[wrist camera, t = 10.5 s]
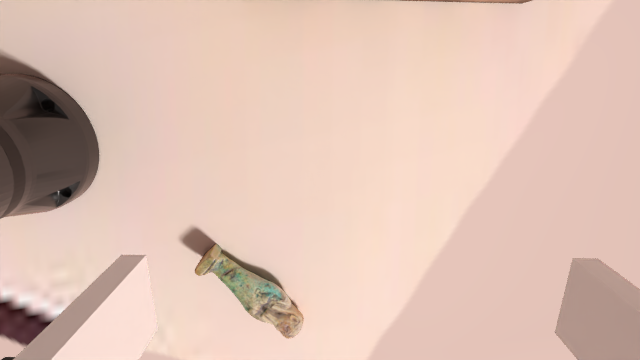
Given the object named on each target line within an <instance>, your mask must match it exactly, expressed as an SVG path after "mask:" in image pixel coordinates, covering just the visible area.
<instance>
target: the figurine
mask: <svg viewBox="0 0 640 360" xmlns="http://www.w3.org/2000/svg"><path fill="white" fill-rule="evenodd" d="M221 250H222V249H221V247H220V246H219V245H217V244H215V245H214V246H213V247H212V248H211V249H210V250H208V251H207V252H206V253H205V254H204V256H203V257H202V259H201V260H200V262H199V263H198V265H197V267H196V269H195V273H196V274H197V275H199V276H201V275H205V274H208V273H210V272H213V273H215V274H216V275H217V276H218V278H219V279H220V280H221V281H222V282H223V283H224V284H225V285H226V286H227V287H228V288H229V289H230V290H231V291H232V292H233V293H234V295H235V296H236V297H237V298H238V300H239V301H240V302H241V304H242V305H243V307H244V308H245V310H246V311H247V312H248V313H249V314H250V315H251V316H253V317H254V318H256V319H257V320H260V321H262V322H267V323H270V324H273V325H274V326H275V328H276V329H277V330H278V331H280V332H281V333H282V335H283V336H285V337H286V338H293V337H294V336H296V335H297V334H298V333H299V331H300V330H301V328H302V325H303V319H304V318H303V315H302V314H301V312H300V311H299V310H298V309H297V308H296V307H295V306H294V305H292V304H291V301H290V299H289V297H288V296H287V294H286V293H285V292H284V291H283V290H282V289H281V288H280V287H279V286H278V285H276V284H275V283H273V282H270V281H268V280H265V279H263V278H261V277H259V276H258V275H256V274H254V273H252V272H250V271H248V270H246V269H244V268H243V267H241V266H240V265H238V264H237V263H235V262H234V261H232V260H231V259H229V258H228V257H227V256H225V255H224V254H223V253H222V252H221Z"/></svg>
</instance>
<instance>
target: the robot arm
mask: <svg viewBox="0 0 640 360" xmlns="http://www.w3.org/2000/svg"><path fill="white" fill-rule="evenodd" d="M98 164H99V148H98V142H97V138H96V135H95V132H94V129H93V127H92V125H91V123H90V121H89V119H88V118H87V116H86V114H85V113H84V112H83V110H82V109H81V108H80V106H79V105H78V104H77V103H76V102H75V101H74V100H73V99H72V98H71V97H70V96H69V95H68V94H66V93H65V92H64V91H62V90H61V89H59V88H58V87H56V86H55V85H53V84H51V83H49V82H47V81H45V80H43V79H40V78H37V77H34V76H30V75H24V74H0V219H1V218H3V217H8V216H17V215H25V214H33V213H41V212H47V211H51V210H54V209H57V208H59V207H62V206H63V205H65V204H67V203H69V202H71V201H73V200H74V199H76V198H78V197H79V196H80V195H82V194H83V193H84V192H85V191H86V190H87V189H88V188H89V186H90V185H91V183H92V182H93V180H94V178H95V175H96V173H97V169H98ZM157 329H158V325H157V319H156V313H155V307H154V301H153V294H152V288H151V282H150V276H149V270H148V264H147V257H146V255H121V256H120V257H119V258H118V259H117V260H116V261H115V262H114V263H113V264H112V265H111V266H110V267H109V268H108V269H106V270H105V271H104V272H103V273H102V274H101V275H100V276H99V277H98V278H97V279H96V280H95V281H94V282H93V283H92V284H91V285H90V286H89V287H88V288H87V289H86V290H85V291H84V292H83V293H82V294H81V295H80V296H79V297H77V298H76V299H75V300H74V301H73V302H72V303H71V304H70V305H69V306H68V307H67V308H66V309H65V310H64V311H63V312H62V313H61V314H60V315H59V316H58V317H57V318H56V319H55V320H54V321H53V322H52V323H51V324H50V325H48V326H47V327H46V328H45V329H44V330H43V331H42V332H41V333H40V334H39V335H38V336H37V337H36V338H35V339H34V340H33V341H32V342H31V343H30V344H29V345H28V346H27V347H26V348H25V349H24V350H23V351H22V352H21V353H20V354H18V356H16V357H5V358H3V359H2V360H139V359H140V357H141V355H142V354H143V352H144V350H145V349H146V347H147V346H148V344H149V342H150V341H151V339H152V338H153V336H154V334H155V333H156V331H157ZM555 333H556V334H557V336H558V337H559V338H560V339H561V340H562V342H563V343H564V344H565V345H566V346H567V347H568V349H569V350H570V351H571V352H572V353H573V355H574V356H575V357H576V358H577V359H578V360H640V289H639V288H637V287H636V286H634V285H633V284H632V283H630V282H629V281H628V280H626V279H625V278H624V277H622V276H621V275H620V274H618V273H617V272H616V271H614V270H613V269H611V268H610V267H609V266H607V265H606V264H604V263H603V262H602V261H601V260H599V259H583V258H582V259H581V258H573V260H572V263H571V268H570V272H569V276H568V280H567V284H566V289H565V292H564V297H563V301H562V305H561V309H560V314H559V318H558V322H557V326H556V330H555Z"/></svg>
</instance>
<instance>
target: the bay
mask: <svg viewBox="0 0 640 360" xmlns="http://www.w3.org/2000/svg"><path fill="white" fill-rule="evenodd" d="M402 1H443V2H484V3H525V2H528V1H532V0H402Z"/></svg>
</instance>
